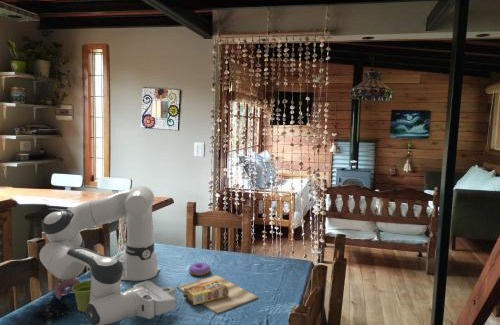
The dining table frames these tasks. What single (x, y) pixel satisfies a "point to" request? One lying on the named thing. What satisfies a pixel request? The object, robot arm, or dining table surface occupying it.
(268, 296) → the dining table surface
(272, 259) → the dining table surface
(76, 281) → the pink arch
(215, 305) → the wooden board
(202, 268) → the donut
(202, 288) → the candy box
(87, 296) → the plant pot
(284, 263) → the dining table surface
